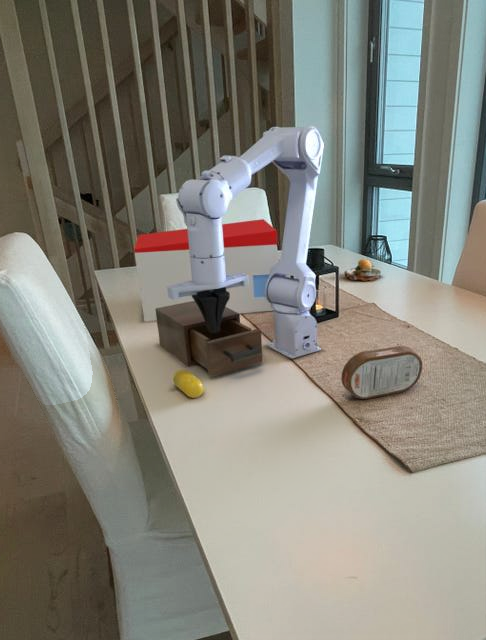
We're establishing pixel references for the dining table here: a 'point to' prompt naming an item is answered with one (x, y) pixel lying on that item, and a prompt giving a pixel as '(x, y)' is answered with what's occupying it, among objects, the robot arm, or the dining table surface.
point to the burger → (363, 271)
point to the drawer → (225, 347)
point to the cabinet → (183, 327)
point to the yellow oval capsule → (188, 383)
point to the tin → (381, 372)
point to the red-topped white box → (175, 267)
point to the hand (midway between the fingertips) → (213, 331)
